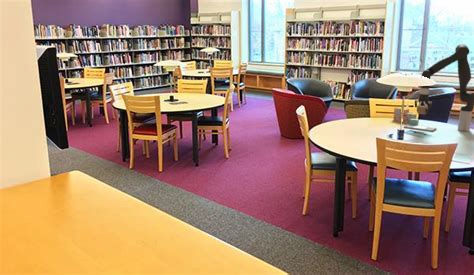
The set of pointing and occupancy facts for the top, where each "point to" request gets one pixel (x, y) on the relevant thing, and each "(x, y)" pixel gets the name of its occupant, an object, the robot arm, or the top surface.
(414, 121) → the teal block
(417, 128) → the blueprint board
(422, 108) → the walnut block
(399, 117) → the stack of blocks
